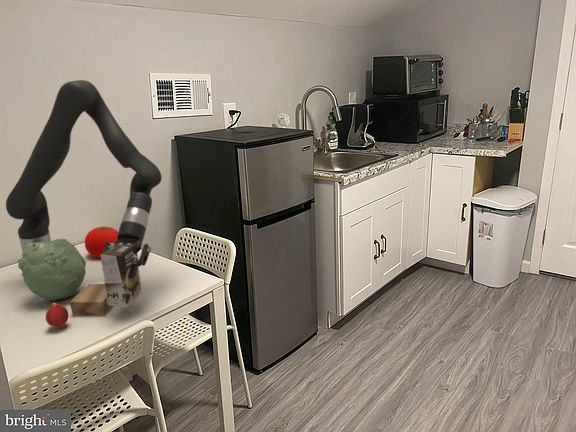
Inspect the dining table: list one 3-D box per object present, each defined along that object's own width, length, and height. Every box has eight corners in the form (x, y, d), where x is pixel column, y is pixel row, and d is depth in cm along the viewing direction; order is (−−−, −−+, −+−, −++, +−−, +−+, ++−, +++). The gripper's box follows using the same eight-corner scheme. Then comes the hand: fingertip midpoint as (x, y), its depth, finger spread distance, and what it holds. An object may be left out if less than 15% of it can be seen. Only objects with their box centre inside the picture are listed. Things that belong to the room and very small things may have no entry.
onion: (53, 323, 136) (47, 298, 134) (73, 321, 137) (68, 296, 134) (45, 333, 131) (39, 308, 128) (66, 332, 131) (60, 306, 129)
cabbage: (94, 299, 149) (83, 240, 143) (28, 316, 141) (13, 254, 135) (87, 281, 163) (77, 227, 156) (26, 295, 154) (13, 238, 148)
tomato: (89, 251, 190) (84, 224, 186) (124, 247, 193) (120, 220, 189) (84, 263, 178) (79, 234, 175) (121, 258, 181) (117, 230, 177)
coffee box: (127, 307, 134) (120, 255, 129) (107, 305, 135) (99, 254, 130) (143, 292, 143) (136, 243, 137) (123, 291, 144) (116, 242, 139)
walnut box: (72, 317, 140) (69, 302, 138) (91, 297, 151) (88, 283, 150) (105, 317, 139) (102, 301, 137) (121, 297, 150) (119, 283, 149)
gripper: (106, 219, 140) (89, 271, 133) (150, 220, 138) (136, 274, 130) (117, 229, 147) (102, 280, 139) (160, 231, 144) (147, 283, 137)
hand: (119, 277), depth 135 cm, fingers closed on coffee box, 6 cm apart
